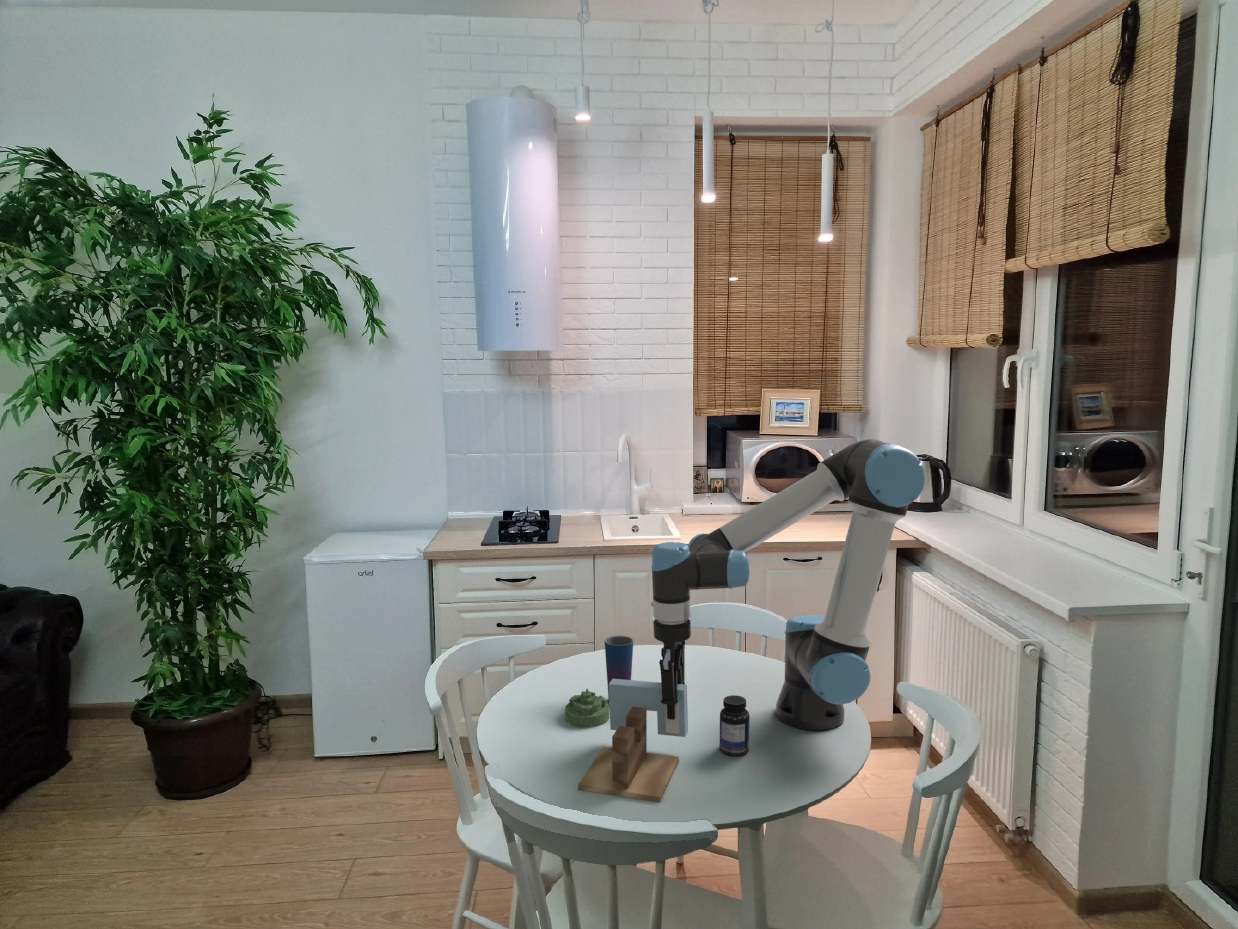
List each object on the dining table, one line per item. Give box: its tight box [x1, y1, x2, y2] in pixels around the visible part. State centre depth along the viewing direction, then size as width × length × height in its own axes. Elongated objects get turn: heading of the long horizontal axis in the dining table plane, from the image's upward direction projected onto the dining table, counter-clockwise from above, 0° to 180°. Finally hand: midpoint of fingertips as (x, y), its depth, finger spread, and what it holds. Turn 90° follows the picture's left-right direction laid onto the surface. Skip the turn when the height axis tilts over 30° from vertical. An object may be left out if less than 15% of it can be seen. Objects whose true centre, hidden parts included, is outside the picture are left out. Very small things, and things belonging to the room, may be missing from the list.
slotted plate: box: [608, 679, 689, 738], centre depth 174 cm, size 16×3×10 cm, turn 73°
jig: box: [577, 706, 680, 803], centre depth 163 cm, size 16×16×11 cm
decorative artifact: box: [564, 688, 610, 729], centre depth 189 cm, size 10×7×10 cm
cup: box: [604, 635, 634, 699], centre depth 197 cm, size 7×7×15 cm
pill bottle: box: [719, 694, 751, 757], centre depth 173 cm, size 6×6×11 cm
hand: (674, 728), depth 173 cm, fingers closed on slotted plate, 3 cm apart
